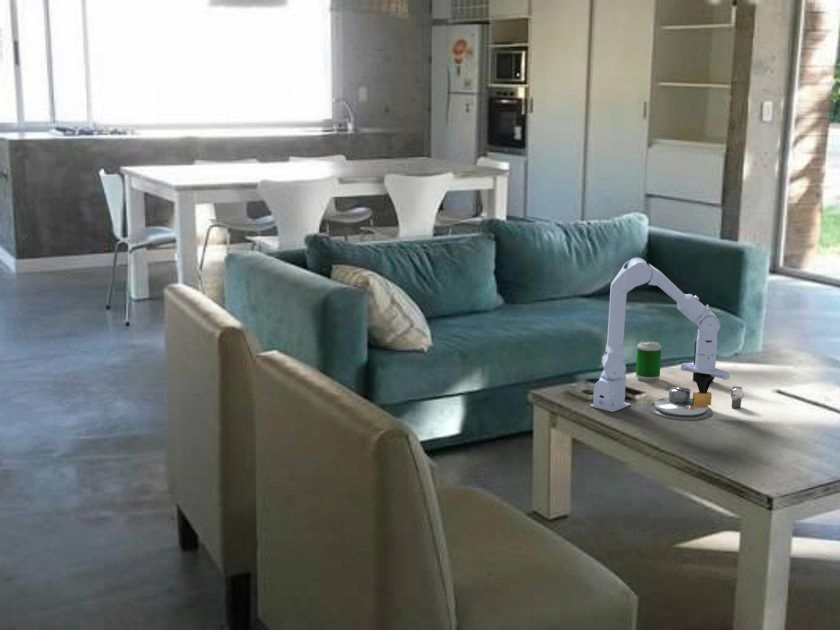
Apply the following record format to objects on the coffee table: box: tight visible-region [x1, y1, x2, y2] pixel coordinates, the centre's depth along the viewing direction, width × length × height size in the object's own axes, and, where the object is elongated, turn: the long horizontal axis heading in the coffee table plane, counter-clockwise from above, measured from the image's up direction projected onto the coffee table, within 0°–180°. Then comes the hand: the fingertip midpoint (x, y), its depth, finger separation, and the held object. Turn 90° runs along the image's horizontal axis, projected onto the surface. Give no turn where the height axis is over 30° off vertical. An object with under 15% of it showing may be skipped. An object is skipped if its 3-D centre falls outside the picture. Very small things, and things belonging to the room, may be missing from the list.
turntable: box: [654, 391, 713, 417], centre depth 306 cm, size 16×15×5 cm
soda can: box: [635, 340, 662, 383], centre depth 337 cm, size 8×8×12 cm
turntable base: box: [648, 402, 714, 421], centre depth 306 cm, size 18×18×1 cm
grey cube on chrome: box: [730, 385, 745, 410], centre depth 308 cm, size 3×4×6 cm
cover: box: [668, 386, 691, 404], centre depth 309 cm, size 6×6×4 cm
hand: (702, 398), depth 308 cm, fingers closed
